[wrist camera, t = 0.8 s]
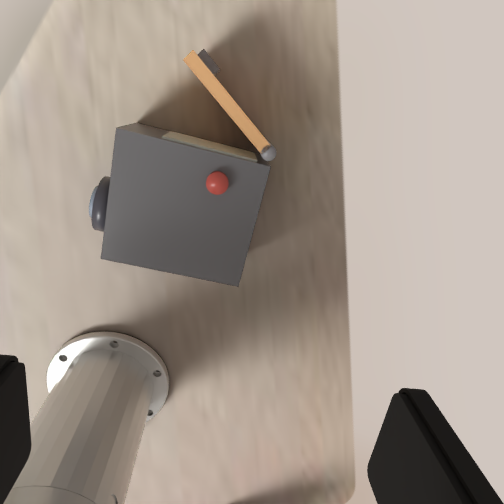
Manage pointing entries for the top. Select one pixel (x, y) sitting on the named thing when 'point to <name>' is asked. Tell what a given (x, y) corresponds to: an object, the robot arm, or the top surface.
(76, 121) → the top surface
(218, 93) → the side door
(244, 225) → the camera body
